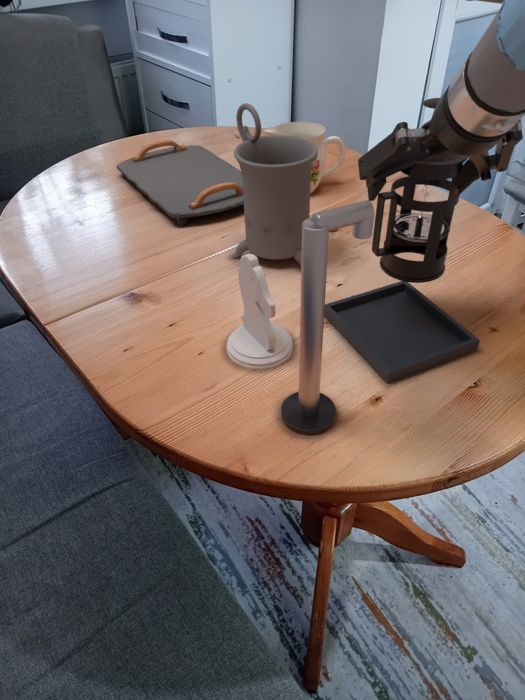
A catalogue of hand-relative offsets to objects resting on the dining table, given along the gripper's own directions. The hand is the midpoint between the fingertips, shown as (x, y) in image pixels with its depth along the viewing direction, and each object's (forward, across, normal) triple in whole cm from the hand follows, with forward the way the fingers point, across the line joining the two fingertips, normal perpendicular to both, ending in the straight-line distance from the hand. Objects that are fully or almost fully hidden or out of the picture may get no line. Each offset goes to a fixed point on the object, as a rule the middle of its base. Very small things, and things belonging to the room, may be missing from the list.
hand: (412, 188), depth 74 cm
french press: (+6, 0, -10) cm, 11 cm away
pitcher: (+46, -8, +18) cm, 50 cm away
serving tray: (+49, -35, +21) cm, 64 cm away
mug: (+27, -18, -1) cm, 32 cm away
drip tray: (+9, -2, -19) cm, 21 cm away
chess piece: (+8, -22, -20) cm, 31 cm away
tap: (-2, -16, -29) cm, 33 cm away
